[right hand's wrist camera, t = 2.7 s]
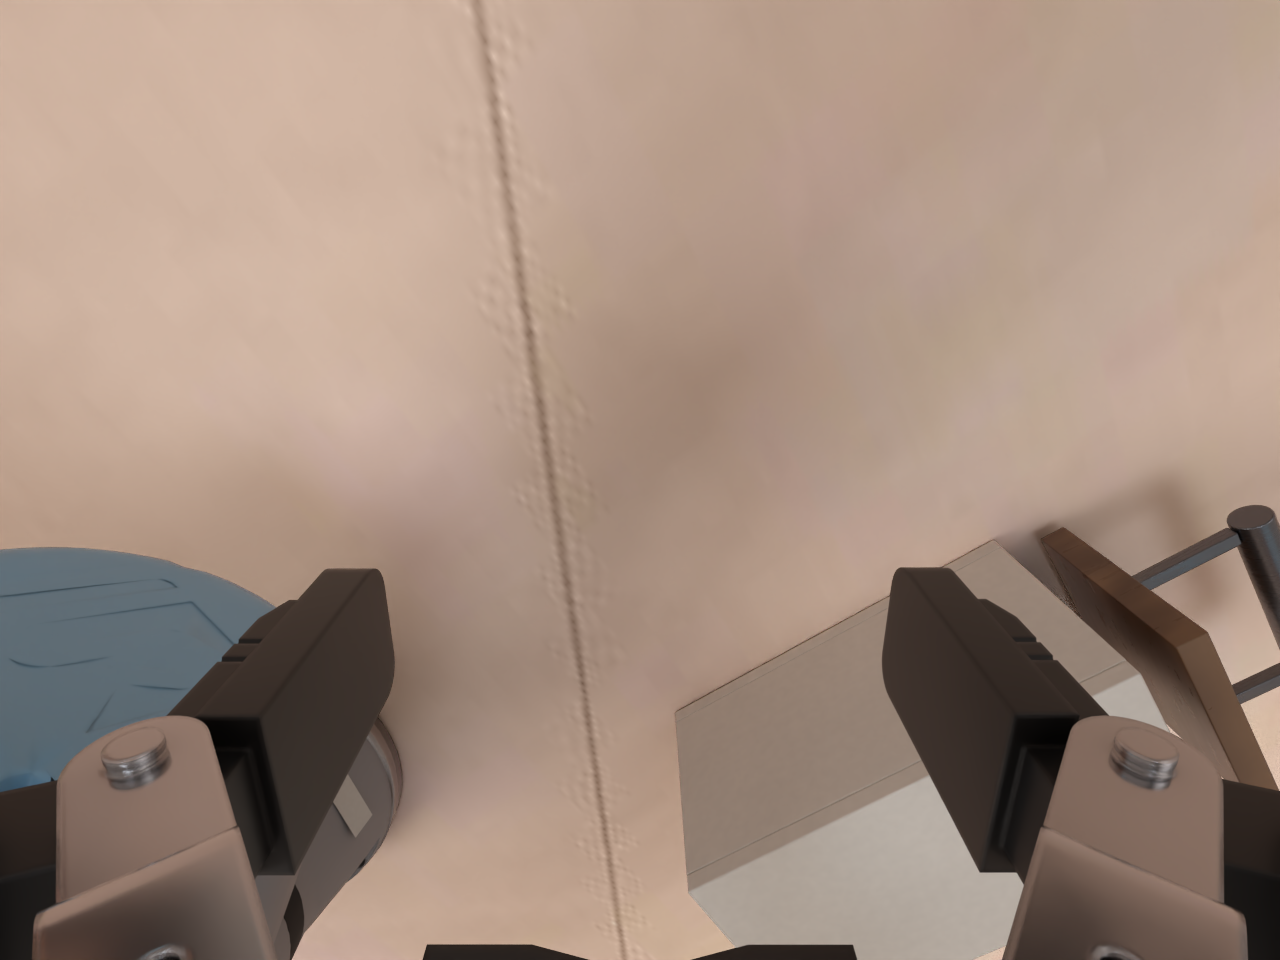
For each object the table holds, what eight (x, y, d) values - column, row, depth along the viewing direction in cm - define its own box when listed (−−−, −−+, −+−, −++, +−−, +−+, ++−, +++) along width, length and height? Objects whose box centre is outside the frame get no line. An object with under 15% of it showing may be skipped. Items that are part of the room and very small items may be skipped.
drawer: (1177, 464, 33) (1370, 552, 25) (1236, 601, 36) (1429, 726, 27) (745, 696, 38) (778, 841, 29) (825, 803, 40) (876, 966, 32)
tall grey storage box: (993, 539, 36) (1141, 673, 25) (1069, 678, 39) (1230, 851, 28) (674, 712, 39) (687, 893, 29) (765, 828, 42) (807, 1031, 32)
